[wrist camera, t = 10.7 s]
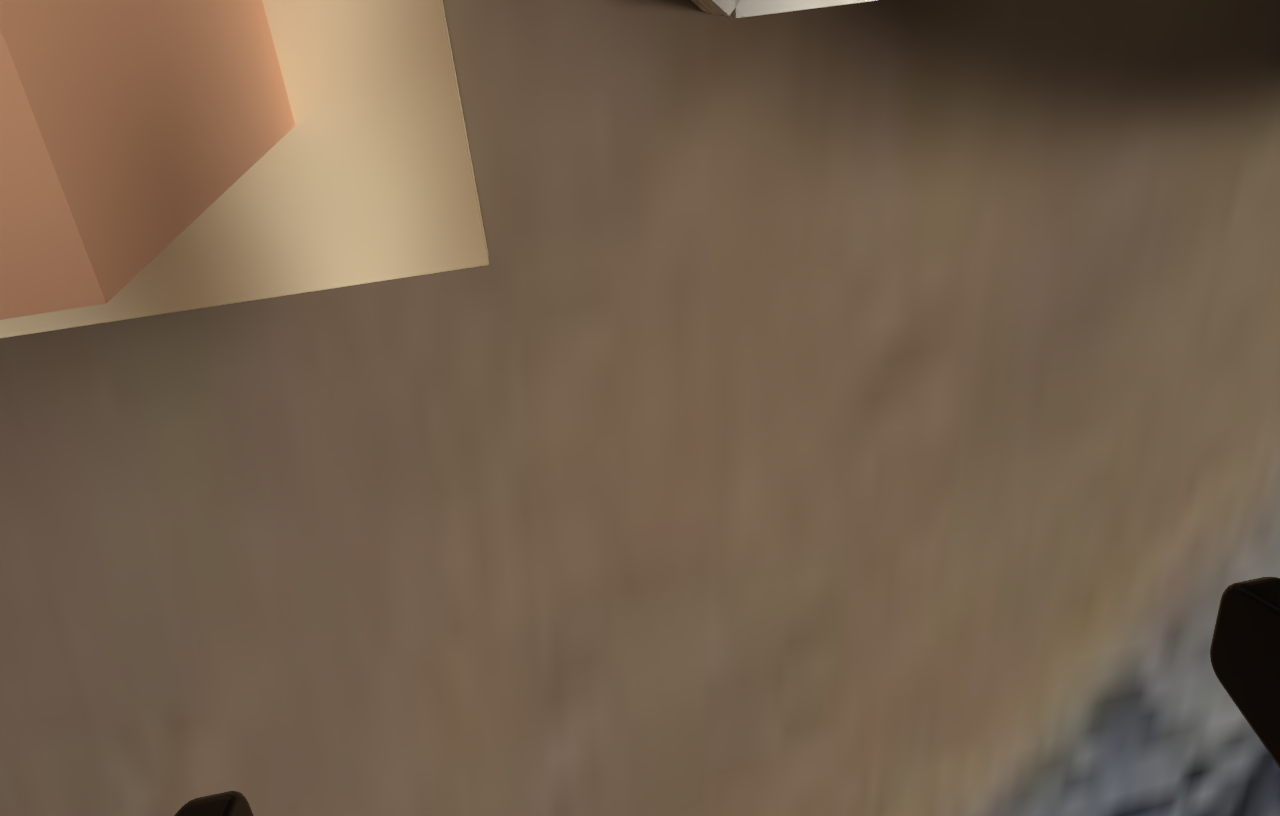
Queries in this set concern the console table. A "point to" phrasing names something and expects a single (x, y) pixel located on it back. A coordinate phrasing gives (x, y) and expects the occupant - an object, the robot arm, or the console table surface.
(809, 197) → the console table surface
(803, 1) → the metal ring
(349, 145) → the maple board
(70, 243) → the peg
